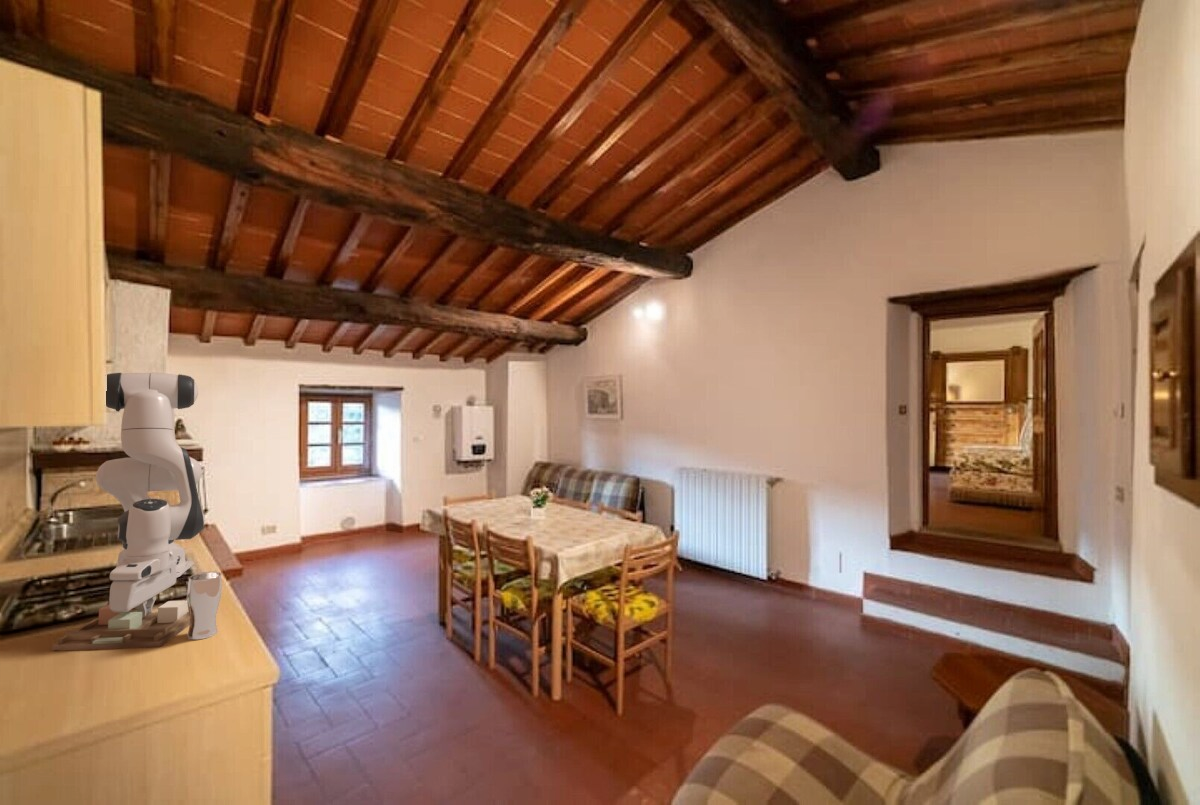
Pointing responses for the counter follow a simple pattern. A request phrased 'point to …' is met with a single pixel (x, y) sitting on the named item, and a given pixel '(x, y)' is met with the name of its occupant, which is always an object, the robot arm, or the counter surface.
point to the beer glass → (203, 604)
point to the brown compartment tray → (122, 635)
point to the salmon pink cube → (106, 615)
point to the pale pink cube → (171, 611)
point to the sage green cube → (125, 621)
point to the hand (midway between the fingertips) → (144, 615)
